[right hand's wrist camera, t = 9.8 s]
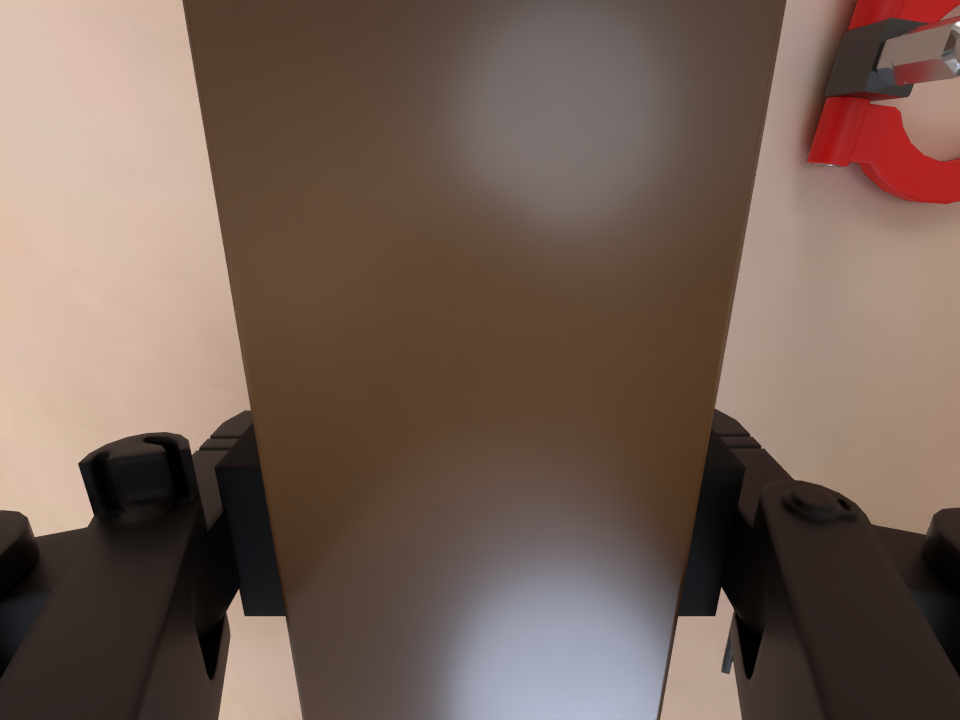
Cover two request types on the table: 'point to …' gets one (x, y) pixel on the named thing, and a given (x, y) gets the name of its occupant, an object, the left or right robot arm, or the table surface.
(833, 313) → the table surface
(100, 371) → the table surface
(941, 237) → the table surface
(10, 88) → the table surface
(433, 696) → the bar
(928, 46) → the tow hook
